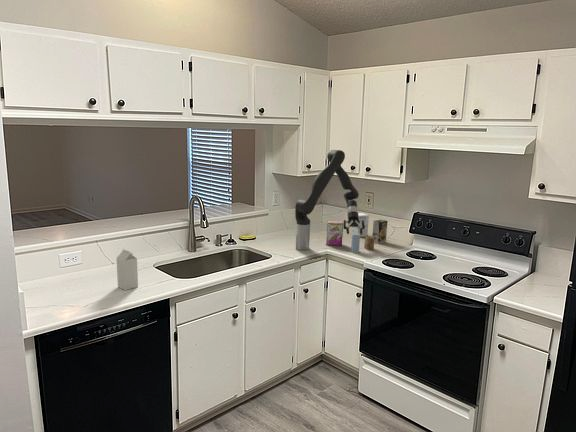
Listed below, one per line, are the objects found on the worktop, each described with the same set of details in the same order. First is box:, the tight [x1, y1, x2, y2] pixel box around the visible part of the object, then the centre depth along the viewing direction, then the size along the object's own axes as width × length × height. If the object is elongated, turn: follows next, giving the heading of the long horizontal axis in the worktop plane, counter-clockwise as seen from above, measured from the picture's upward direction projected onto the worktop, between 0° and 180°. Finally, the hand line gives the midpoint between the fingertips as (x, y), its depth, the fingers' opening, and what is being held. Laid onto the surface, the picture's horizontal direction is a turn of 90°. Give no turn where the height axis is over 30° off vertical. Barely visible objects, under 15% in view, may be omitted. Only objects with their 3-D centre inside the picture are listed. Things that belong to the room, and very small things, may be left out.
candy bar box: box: [325, 220, 344, 247], centre depth 313 cm, size 11×5×16 cm, turn 84°
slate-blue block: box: [350, 233, 361, 254], centre depth 297 cm, size 4×4×12 cm
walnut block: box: [364, 236, 375, 251], centre depth 306 cm, size 5×5×8 cm
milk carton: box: [116, 248, 139, 291], centre depth 221 cm, size 7×7×19 cm
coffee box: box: [371, 219, 388, 245], centre depth 324 cm, size 9×6×16 cm
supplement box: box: [350, 212, 370, 238], centre depth 343 cm, size 10×9×17 cm
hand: (354, 233), depth 301 cm, fingers open, 8 cm apart
